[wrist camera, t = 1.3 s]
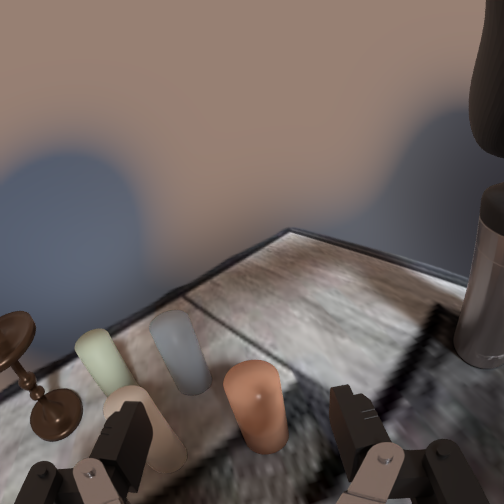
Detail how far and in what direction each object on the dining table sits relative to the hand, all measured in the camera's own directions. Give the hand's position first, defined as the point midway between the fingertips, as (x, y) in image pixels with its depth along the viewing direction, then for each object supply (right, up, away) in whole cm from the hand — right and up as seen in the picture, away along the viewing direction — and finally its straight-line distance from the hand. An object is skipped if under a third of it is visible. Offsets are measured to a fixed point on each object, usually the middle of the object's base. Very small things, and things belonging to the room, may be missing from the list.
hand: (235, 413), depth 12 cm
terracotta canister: (+2, -12, +17) cm, 21 cm away
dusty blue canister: (-7, -10, +25) cm, 28 cm away
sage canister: (-16, -12, +24) cm, 31 cm away
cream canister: (-8, -15, +16) cm, 23 cm away
